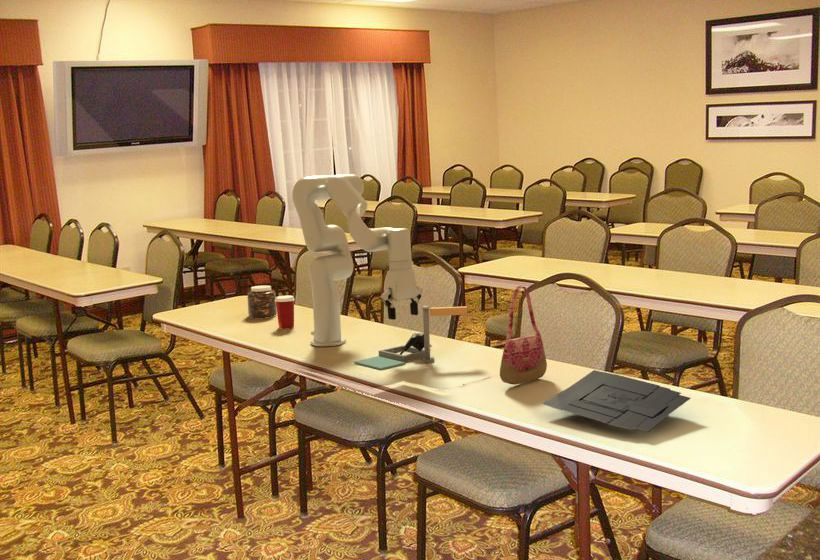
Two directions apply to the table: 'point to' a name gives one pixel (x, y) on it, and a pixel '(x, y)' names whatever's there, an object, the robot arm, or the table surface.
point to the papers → (618, 400)
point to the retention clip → (448, 311)
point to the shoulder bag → (522, 351)
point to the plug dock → (416, 353)
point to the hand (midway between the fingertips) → (403, 316)
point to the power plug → (415, 342)
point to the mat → (379, 363)
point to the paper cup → (285, 311)
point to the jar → (261, 302)
